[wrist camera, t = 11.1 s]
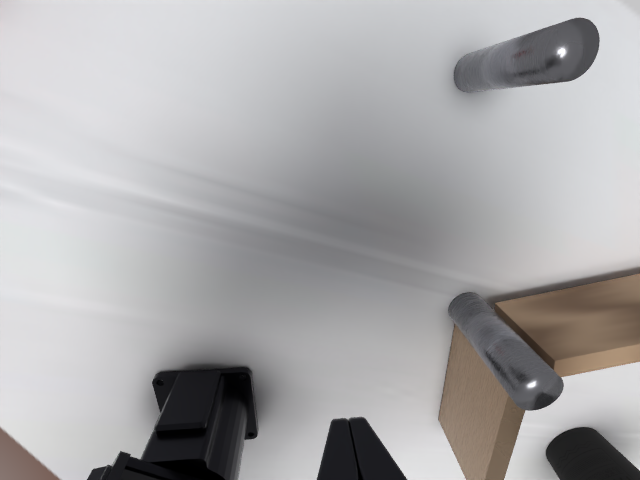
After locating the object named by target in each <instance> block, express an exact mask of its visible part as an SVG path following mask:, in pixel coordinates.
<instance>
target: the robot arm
mask: <svg viewBox="0 0 640 480" xmlns="http://www.w3.org/2000/svg"><path fill="white" fill-rule="evenodd" d="M242 375H245V376H242ZM160 380H162V381H160ZM152 384H153V387H154V391H155V395H156V398H157V402H158V406H159V409H160V415H159V418H158V420H157V422H156V424H155V427H154V430H153V432H152V434H151V437H150V439H149V441H148V443H147V446H146V448H145V450H144V452H143V455H142V457H141V459H137V458H134V457H130V455H131V454H128V453H125V452H122V451H120V453H119V454H118V456H117V458H116V459H115V461H114V463H113V464H112V466H110V465H107V466H105V467H101V468H96V469H93V470H92V472H91V474H90V475H89V477H88V479H87V480H238V476H239V470H240V464H241V457H242V451H243V445H244V440H246V439H254V438H256V437H257V434H258V424H257V416H256V408H255V399H254V391H253V383H252V374H251V371H250V370H249V369H248V368H229V369H213V370H196V371H180V372H164V373H158V374H156V376H155V377H154V379H153V381H152ZM317 480H407V479H406V477H405V476H404V474H403V473H402V471H401V470H400V468H399V467H398V465H397V464H396V463H395V461H394V460H393V458H392V457H391V455H390V454H389V452H388V451H387V449H386V448H385V446H384V445H383V444H382V442H381V441H380V439H379V438H378V436H377V435H376V433H375V432H374V430H373V429H372V427H371V426H370V424H369V423H368V422H367V420H366V419H365V418H364V417H354V418H349V420H347V419H346V418H340V419H333V420H332V421H331V424H330V429H329V433H328V437H327V441H326V445H325V449H324V453H323V457H322V461H321V465H320V469H319V473H318V477H317Z"/></svg>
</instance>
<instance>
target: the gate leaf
mask: <svg viewBox="0 0 640 480" xmlns="http://www.w3.org/2000/svg"><path fill="white" fill-rule="evenodd" d="M495 312H496V313H497V314H498V315H499V316H500V317H501V318H502V319H503V320H504V321H505V322H506V323H507V324H508V325H509V326H510V327H511V328H512V329H513V330H514V331H515V332H516V333H517V334H518V335H519V336H520V337H521V338H522V339H523V340H524V341H525V342H526V343H527V344H528V345H529V346H530V347H531V348H532V349H533V350H534V351H535V352H536V353H537V354H538V355H539V356H540V357H541V358H542V359H543V360H544V361H545V362H546V363H547V364H548V365H549V366H550V367H551V368H552V369H553V370H554V371H555V372H556V373H557V374H558V375H559V376H560V377H565V376H570V375H575V374H580V373H585V372H590V371H595V370H600V369H605V368H610V367H615V366H620V365H625V364H630V363H635V362H640V274H636V275H631V276H626V277H621V278H616V279H611V280H606V281H601V282H596V283H591V284H586V285H581V286H576V287H571V288H566V289H561V290H556V291H551V292H546V293H541V294H536V295H532V296H527V297H522V298H517V299H512V300H507V301H502V302H497V303H495Z"/></svg>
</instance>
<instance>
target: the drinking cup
mask: <svg viewBox="0 0 640 480" xmlns="http://www.w3.org/2000/svg"><path fill="white" fill-rule="evenodd" d="M546 456H547V459H548V461H549V462H550V464H551V466H552V467H553V469H554V471H555V472H556V474H557V475H558V477H559V479H560V480H640V471H639V470H638V469H637V468H636V467H635V466H634V465H633V464H632V463H631V462H630V461H628V460H627V459H626V458H625V457H624V456H623V455H622V454H621V453H620V452H619V451H618V450H617V449H616V448H614V447H613V446H612V445H611V444H610V443H609V442H608V441H607V440H606V439H605V438H604V437H603V436H602V435H600V434H599V433H598V432H597V431H596V430H594V429H591V428H576V429H572V430H569V431H567V432H565V433H563V434H561V435H559V436H558V437H557V438H555V439H554V440H553V441H552V442H551V444H550V445H549V446H548V449H547V452H546Z"/></svg>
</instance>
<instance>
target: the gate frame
mask: <svg viewBox="0 0 640 480" xmlns="http://www.w3.org/2000/svg"><path fill="white" fill-rule="evenodd" d="M598 49H599V33H598V30H597V28H596V26H595V25H594V24H593V23H592V22H591V21H590V20H588V19H585V18H574V19H571V20H568V21H565V22H562V23H559V24H556V25H553V26H550V27H547V28H544V29H541V30H538V31H535V32H532V33H529V34H526V35H523V36H520V37H517V38H514V39H511V40H508V41H505V42H502V43H499V44H496V45H493V46H490V47H487V48H484V49H481V50H478V51H475V52H472V53H469V54H467V55H465V56H464V57H462V58H461V59H460V60H459V62H458V63H457V65H456V68H455V71H454V80H455V83H456V85H457V87H458V88H459V89H460V90H462V91H464V92H477V91H486V90H495V89H504V88H513V87H522V86H531V85H540V84H549V83H558V82H567V81H572V80H574V79H576V78H578V77H580V76H581V75H582V74H584V73H585V72H586V71H587V70H588V69H589V67H590V66H591V65H592V63H593V62H594V60H595V58H596V55H597V52H598ZM449 315H450V317H451V319H452V320H453V321H454V323H455V326H454V332H453V338H452V343H451V349H450V355H449V361H448V367H447V372H446V378H445V384H444V390H443V396H442V402H441V407H440V413H439V419H438V420H439V422H440V424H441V426H442V428H443V430H444V433H445V435H446V437H447V439H448V441H449V443H450V446H451V448H452V450H453V452H454V454H455V456H456V458H457V461H458V463H459V465H460V467H461V469H462V471H463V474H464V476H465V478H466V480H504V478H505V474H506V471H507V468H508V465H509V461H510V458H511V455H512V452H513V448H514V445H515V442H516V439H517V435H518V432H519V429H520V426H521V422H522V419H523V416H524V413H525V410H538V409H542V408H544V407H546V406H548V405H550V404H552V403H553V402H554V401H555V400H556V399H557V398H558V397H559V396H560V394H561V393H562V391H563V386H564V385H563V380H562V378H561V377H560V376H559V375H558V374H557V373H556V372H555V371H554V370H553V369H552V368H551V367H550V366H549V365H548V364H547V363H546V362H545V361H544V360H543V359H542V358H541V357H540V356H539V355H538V354H537V353H536V352H535V351H534V350H533V349H532V348H531V347H530V346H529V345H528V344H527V343H526V342H525V341H524V340H523V339H522V338H521V337H520V336H519V335H518V334H517V333H516V332H515V331H514V330H513V329H512V328H511V327H510V326H509V325H508V324H507V323H506V322H505V321H504V320H503V319H502V318H501V317H500V316H499V315H498V314H497V313H496V312H495V311H494V310H493V309H492V308H491V307H490V306H489V305H488V304H487V303H486V302H485V301H484V300H483V299H482V298H481V297H480V296H479V295H477V294H475V293H464V294H462V295H459V296H458V297H456V298H455V299H454V300H453V301H452V303H451V304H450V307H449Z"/></svg>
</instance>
